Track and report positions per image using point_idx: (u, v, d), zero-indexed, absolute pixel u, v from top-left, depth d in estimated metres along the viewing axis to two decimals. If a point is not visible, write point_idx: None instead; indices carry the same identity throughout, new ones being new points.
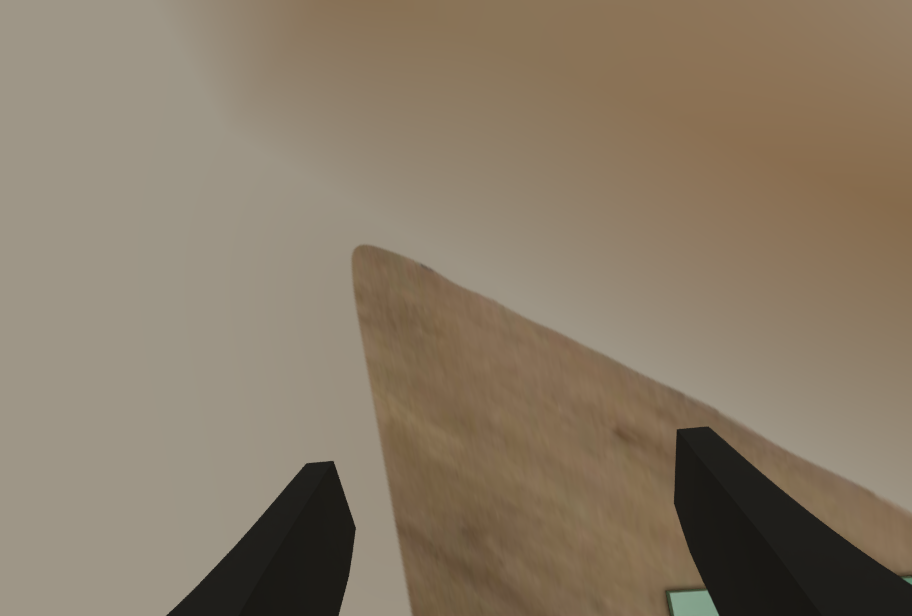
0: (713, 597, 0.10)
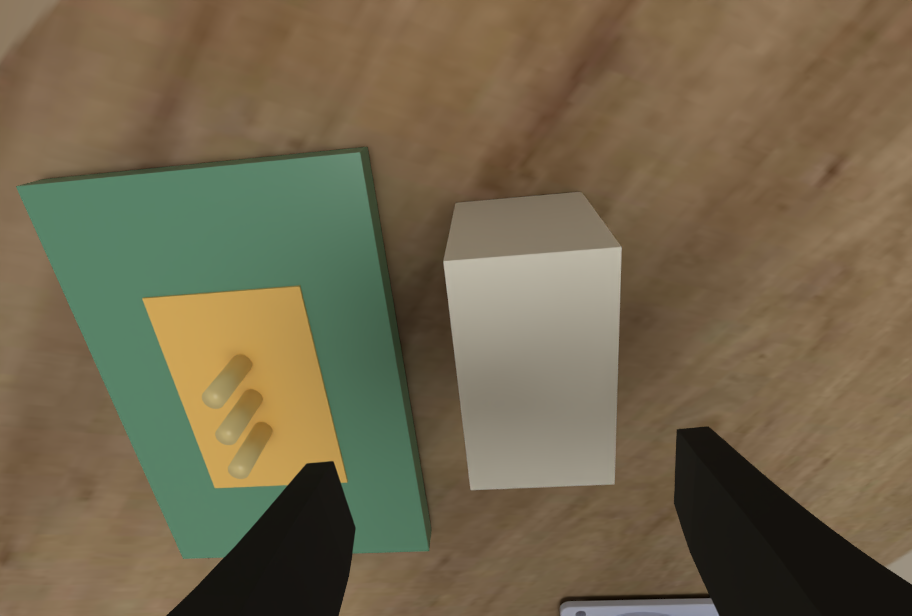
0: (713, 597, 0.10)
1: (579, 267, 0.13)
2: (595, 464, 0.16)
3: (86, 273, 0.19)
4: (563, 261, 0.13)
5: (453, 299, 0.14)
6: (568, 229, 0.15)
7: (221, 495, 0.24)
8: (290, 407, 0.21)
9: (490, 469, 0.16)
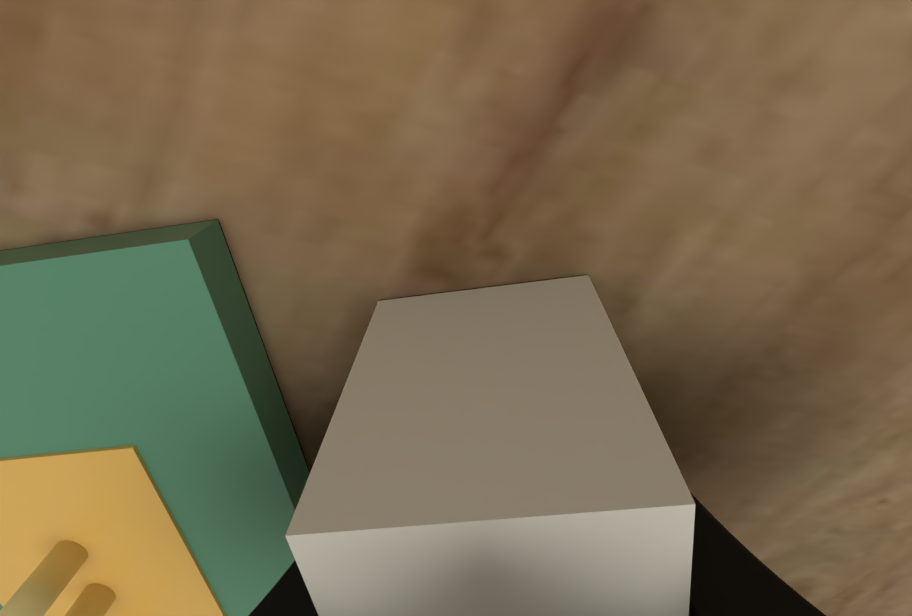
0: None
1: (596, 542, 0.06)
2: None
3: None
4: (558, 532, 0.06)
5: (322, 598, 0.06)
6: (567, 407, 0.07)
7: None
8: (160, 601, 0.14)
9: None
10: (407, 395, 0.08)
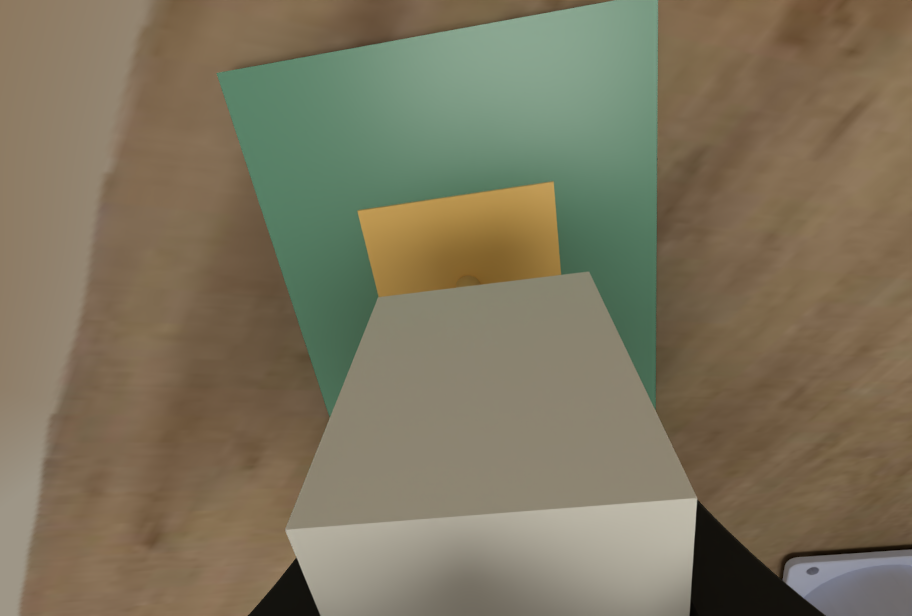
0: None
1: (597, 536, 0.06)
2: None
3: (292, 182, 0.16)
4: (559, 526, 0.06)
5: (322, 593, 0.06)
6: (568, 402, 0.07)
7: None
8: None
9: None
10: (407, 390, 0.08)
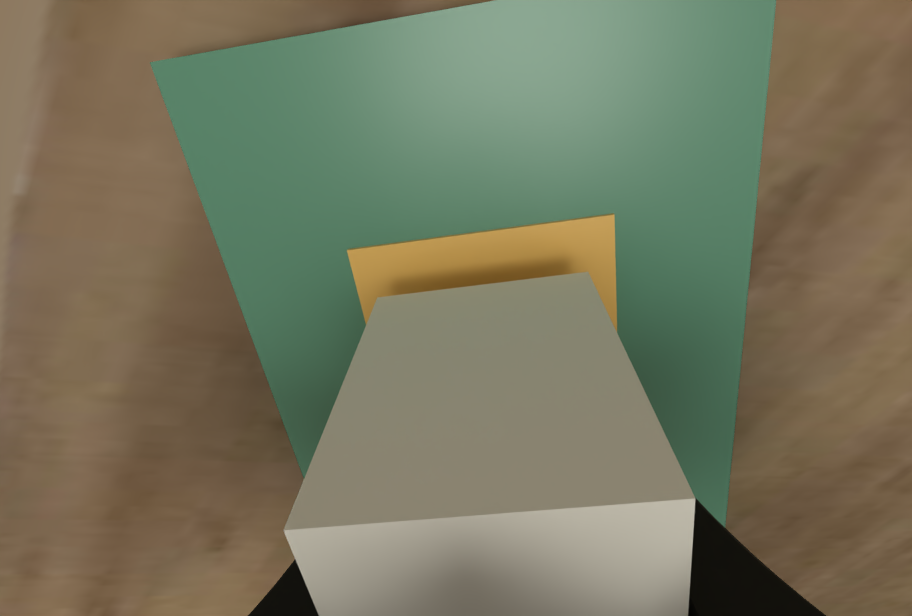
0: None
1: (595, 537, 0.06)
2: None
3: (258, 212, 0.12)
4: (557, 527, 0.06)
5: (321, 593, 0.06)
6: (567, 402, 0.07)
7: None
8: None
9: None
10: (406, 390, 0.08)
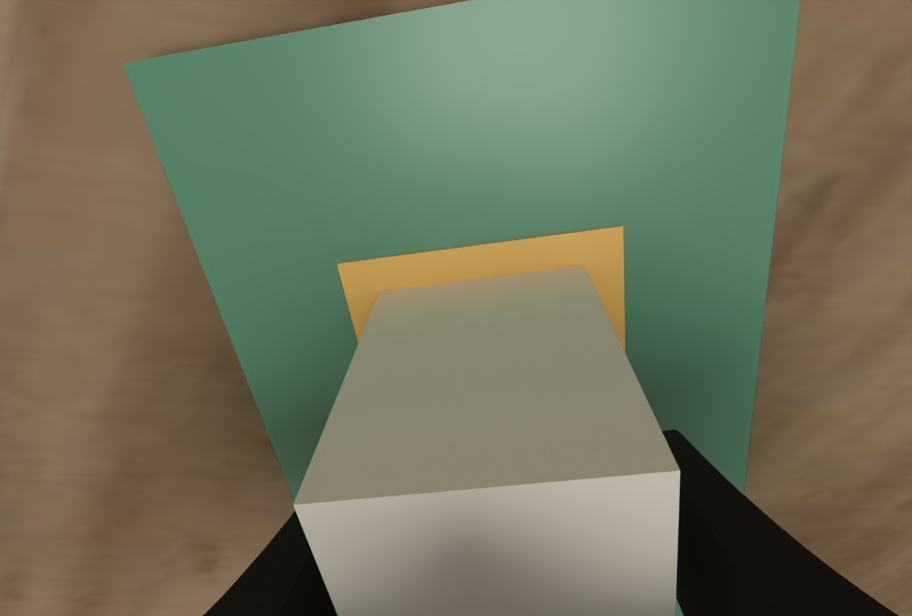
0: (679, 599, 0.10)
1: (587, 509, 0.06)
2: None
3: (242, 224, 0.11)
4: (551, 499, 0.06)
5: (328, 566, 0.07)
6: (561, 386, 0.07)
7: None
8: None
9: None
10: (408, 377, 0.08)
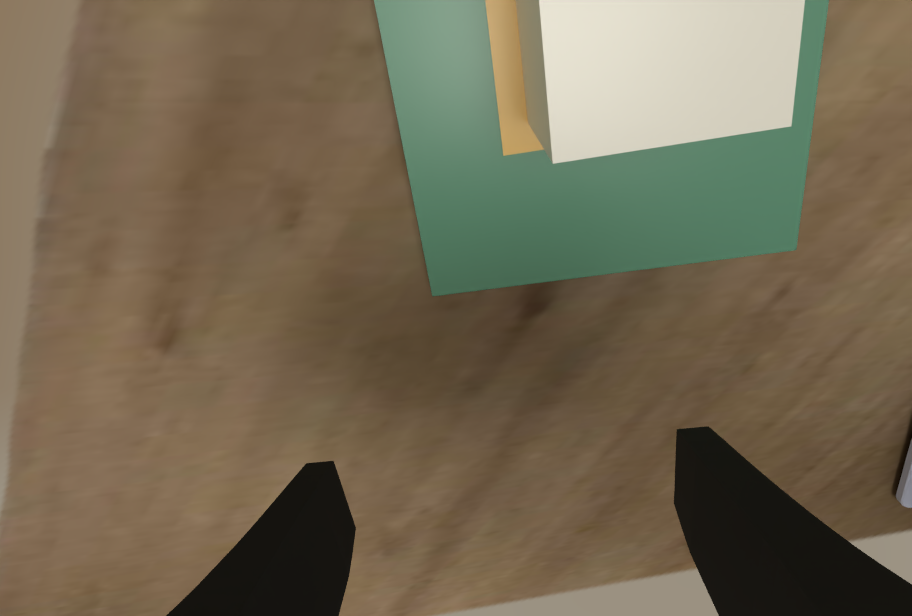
0: (713, 597, 0.10)
1: None
2: (763, 84, 0.10)
3: None
4: None
5: None
6: None
7: (509, 171, 0.16)
8: None
9: (585, 115, 0.10)
10: None
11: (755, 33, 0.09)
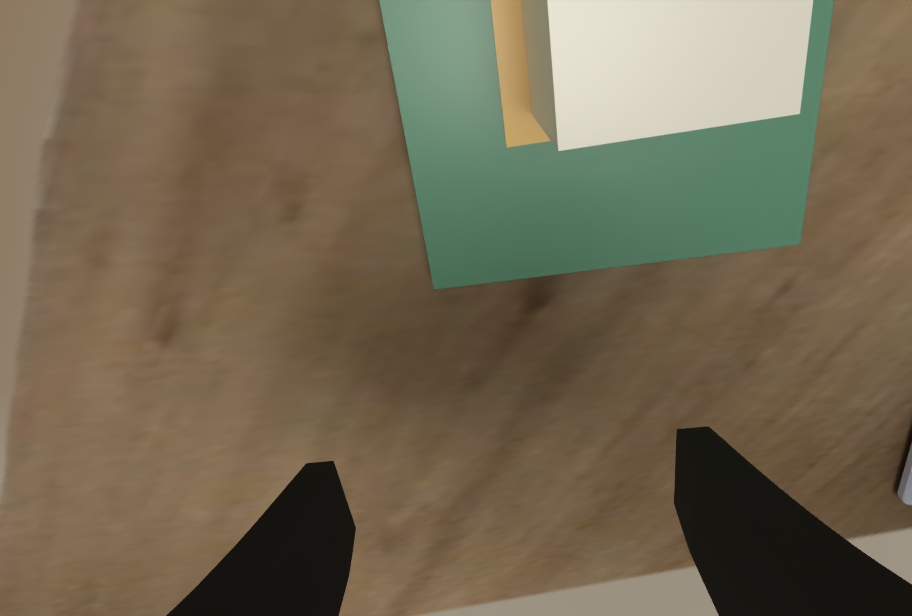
0: (713, 597, 0.10)
1: None
2: (771, 70, 0.09)
3: None
4: None
5: None
6: None
7: (512, 163, 0.16)
8: None
9: (592, 102, 0.10)
10: None
11: (764, 18, 0.09)
